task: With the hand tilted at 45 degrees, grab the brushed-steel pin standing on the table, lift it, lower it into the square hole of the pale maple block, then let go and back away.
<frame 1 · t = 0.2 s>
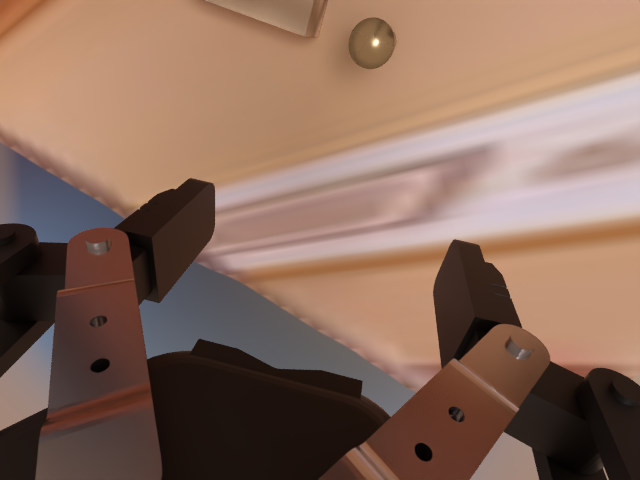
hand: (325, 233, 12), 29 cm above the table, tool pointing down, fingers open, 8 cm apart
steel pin: (382, 42, 35), on the table
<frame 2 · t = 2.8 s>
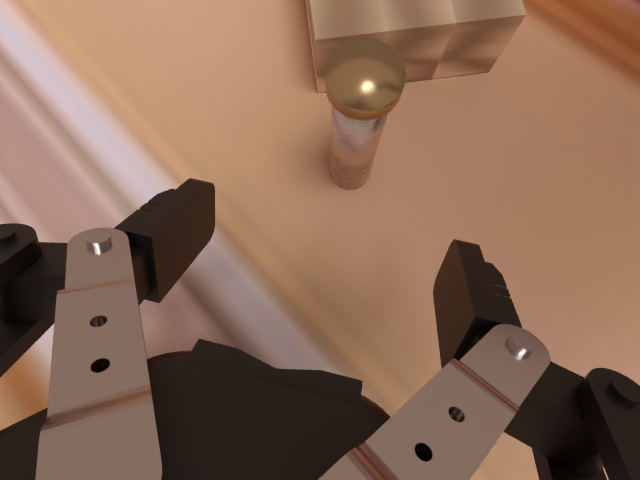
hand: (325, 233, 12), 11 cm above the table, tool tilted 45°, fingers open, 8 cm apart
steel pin: (349, 171, 25), on the table
maple hitch block: (389, 9, 27), on the table
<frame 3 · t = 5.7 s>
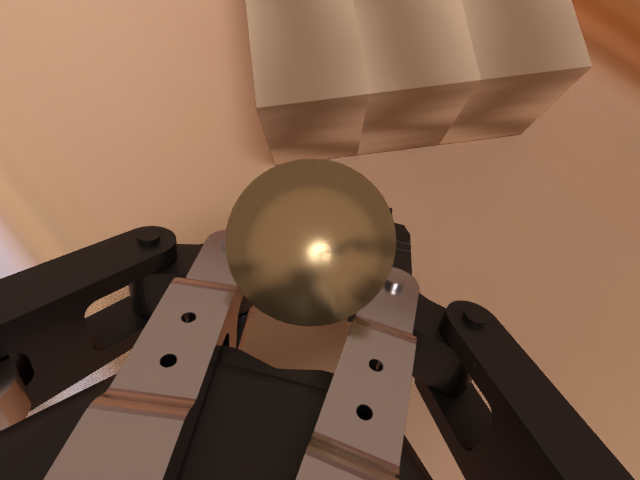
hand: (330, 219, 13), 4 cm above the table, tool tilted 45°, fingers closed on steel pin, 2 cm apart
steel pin: (319, 285, 17), on the table, touching gripper
maple hitch block: (378, 43, 19), on the table
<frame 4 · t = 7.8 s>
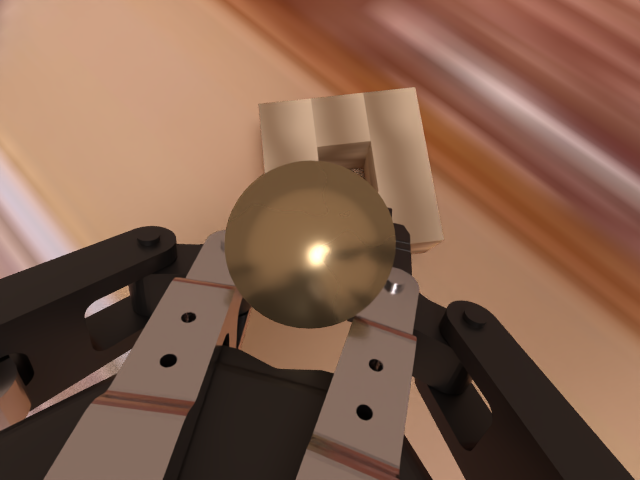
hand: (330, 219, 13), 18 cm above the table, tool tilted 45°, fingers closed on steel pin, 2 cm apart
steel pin: (319, 285, 17), point 14 cm above the table, touching gripper
maple hitch block: (343, 192, 32), on the table
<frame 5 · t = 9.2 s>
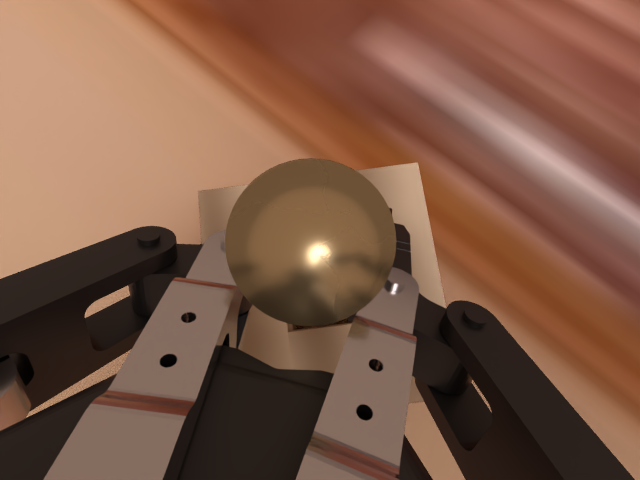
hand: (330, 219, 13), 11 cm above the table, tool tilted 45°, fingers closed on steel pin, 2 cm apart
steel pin: (319, 285, 17), point 7 cm above the table, touching gripper
maple hitch block: (323, 293, 24), on the table
when the fingers open (7 cm above the table, at t = 10.4 s): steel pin drops 3 cm, resting in maple hitch block.
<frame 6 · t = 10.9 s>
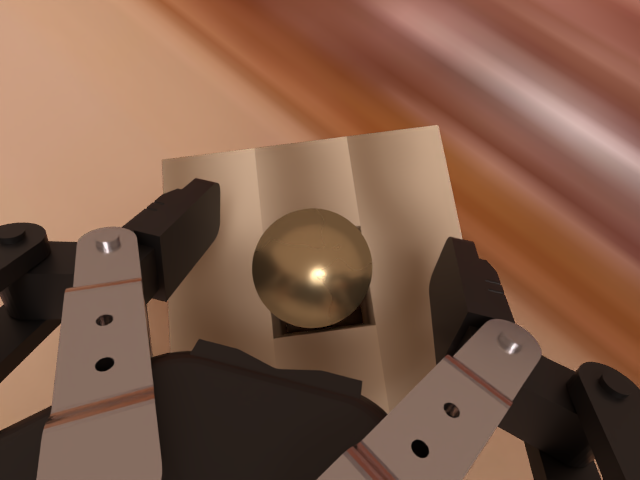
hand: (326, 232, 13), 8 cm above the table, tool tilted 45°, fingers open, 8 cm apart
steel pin: (319, 292, 20), resting in maple hitch block
maple hitch block: (320, 289, 20), on the table
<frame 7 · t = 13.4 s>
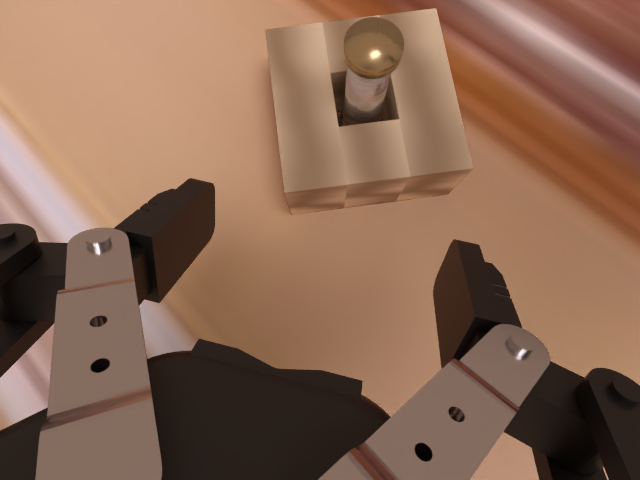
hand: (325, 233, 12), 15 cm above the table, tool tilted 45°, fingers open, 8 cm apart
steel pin: (357, 133, 29), resting in maple hitch block
maple hitch block: (357, 132, 29), on the table
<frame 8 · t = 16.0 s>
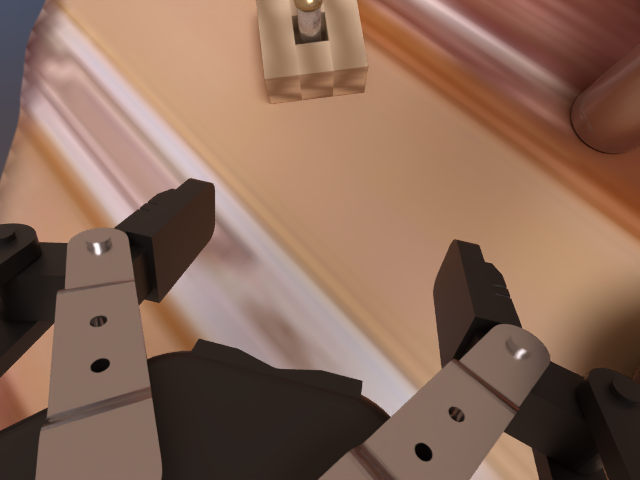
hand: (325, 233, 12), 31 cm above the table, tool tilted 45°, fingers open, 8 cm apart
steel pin: (311, 58, 49), resting in maple hitch block
maple hitch block: (311, 57, 49), on the table
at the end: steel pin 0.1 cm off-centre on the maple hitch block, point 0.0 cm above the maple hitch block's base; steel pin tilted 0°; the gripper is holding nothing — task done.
